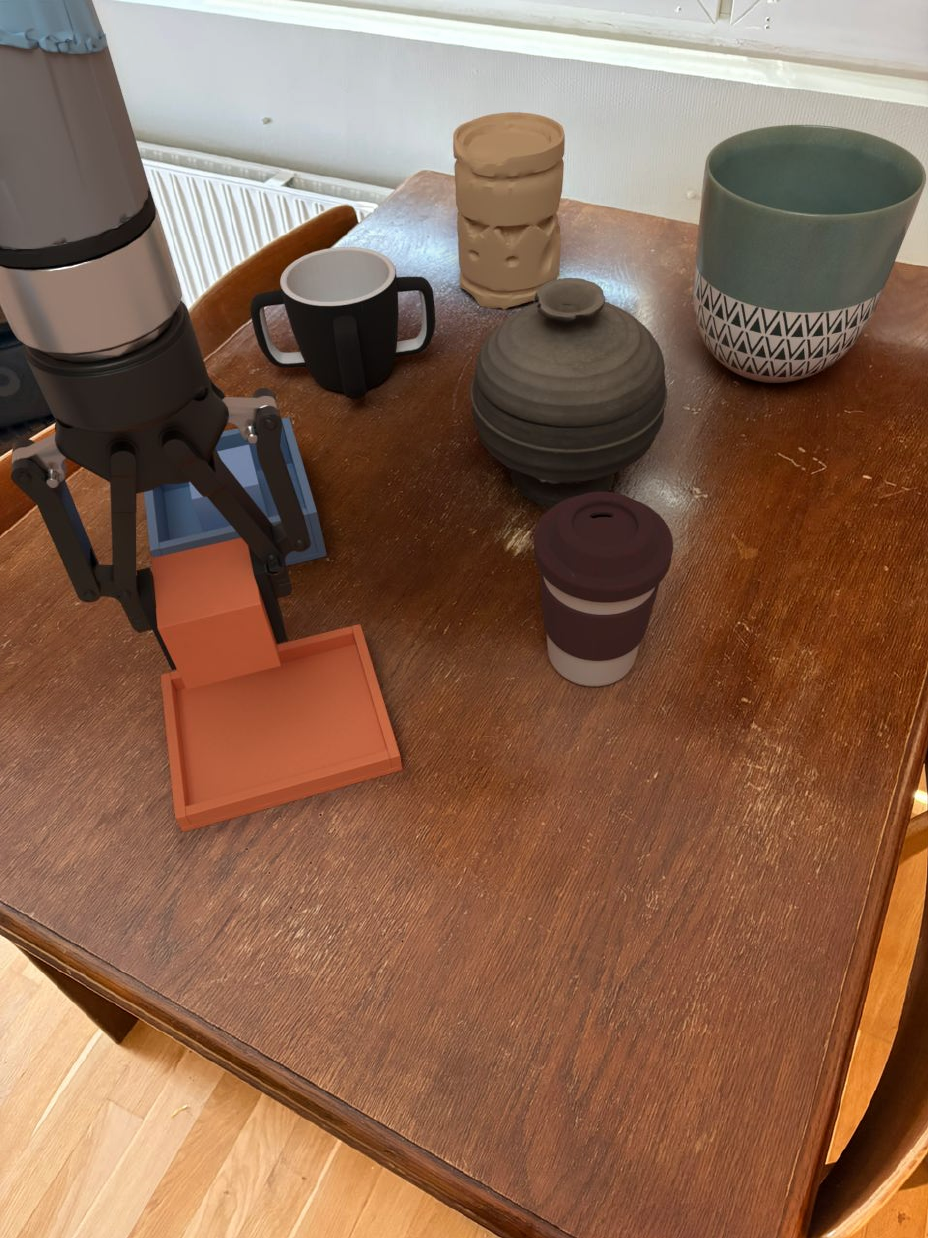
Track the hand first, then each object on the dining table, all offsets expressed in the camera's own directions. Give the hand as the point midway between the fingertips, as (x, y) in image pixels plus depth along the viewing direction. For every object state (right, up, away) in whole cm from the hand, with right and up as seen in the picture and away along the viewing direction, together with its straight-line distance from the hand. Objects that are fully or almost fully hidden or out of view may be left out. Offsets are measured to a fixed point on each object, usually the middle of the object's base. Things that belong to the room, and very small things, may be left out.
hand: (227, 639), depth 58 cm
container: (+21, +44, +56) cm, 74 cm away
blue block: (-7, +11, +28) cm, 31 cm away
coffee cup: (+26, -2, +16) cm, 31 cm away
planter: (+49, +30, +42) cm, 71 cm away
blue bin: (-7, +11, +29) cm, 31 cm away
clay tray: (+1, -7, +13) cm, 15 cm away
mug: (+3, +30, +45) cm, 54 cm away
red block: (0, 0, 0) cm, 0 cm away
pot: (+25, +16, +31) cm, 43 cm away
